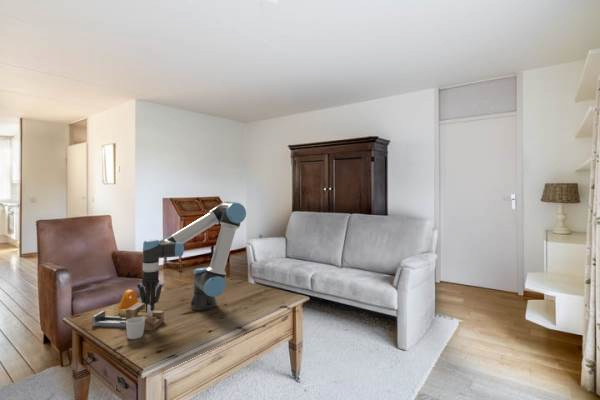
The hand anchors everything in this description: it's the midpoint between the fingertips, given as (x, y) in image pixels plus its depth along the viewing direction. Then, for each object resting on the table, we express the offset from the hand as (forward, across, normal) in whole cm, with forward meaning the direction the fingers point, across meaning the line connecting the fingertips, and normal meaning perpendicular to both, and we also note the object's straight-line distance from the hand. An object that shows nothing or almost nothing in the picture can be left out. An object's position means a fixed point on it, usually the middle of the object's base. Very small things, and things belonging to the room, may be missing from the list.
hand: (149, 316), depth 165 cm
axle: (+1, +8, 0) cm, 8 cm away
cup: (+5, 0, +13) cm, 14 cm away
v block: (+4, +18, 0) cm, 18 cm away
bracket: (+5, +19, -17) cm, 26 cm away
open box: (+4, +2, 0) cm, 5 cm away
